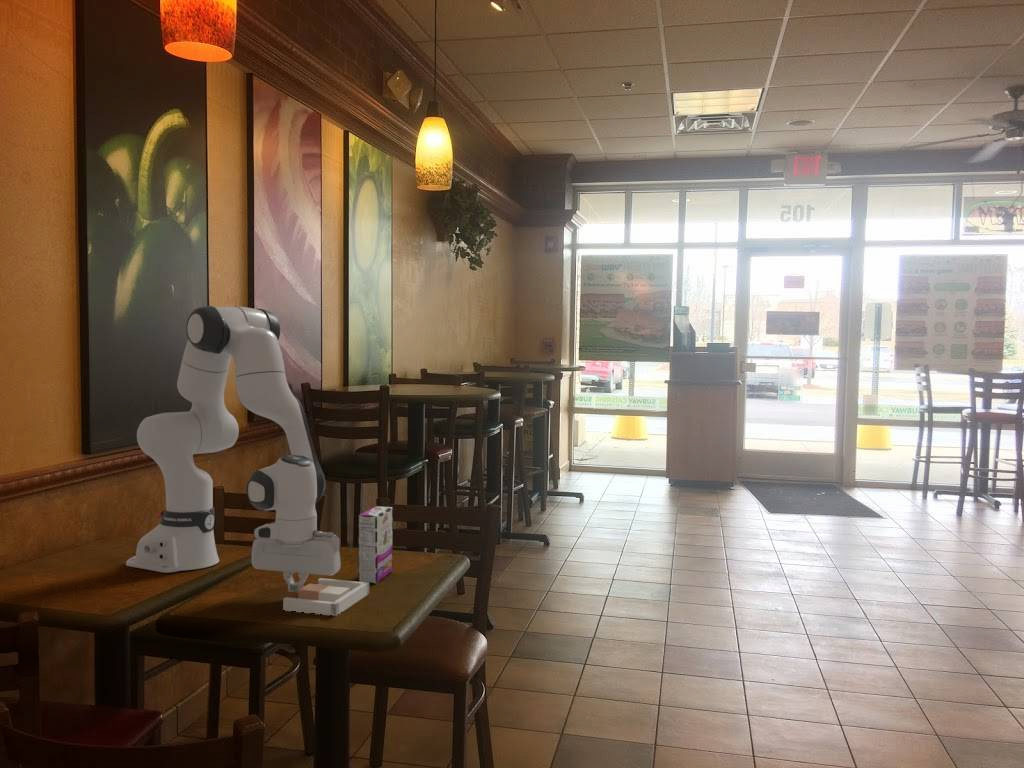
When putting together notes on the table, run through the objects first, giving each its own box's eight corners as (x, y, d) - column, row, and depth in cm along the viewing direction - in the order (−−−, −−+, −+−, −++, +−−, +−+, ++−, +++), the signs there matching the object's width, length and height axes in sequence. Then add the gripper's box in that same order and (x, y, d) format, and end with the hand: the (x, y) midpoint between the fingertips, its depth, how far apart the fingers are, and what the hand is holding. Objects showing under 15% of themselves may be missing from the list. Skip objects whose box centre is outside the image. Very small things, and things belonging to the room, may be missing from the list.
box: (283, 610, 168) (283, 598, 168) (320, 588, 184) (320, 578, 184) (336, 616, 165) (336, 604, 165) (369, 593, 181) (369, 582, 181)
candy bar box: (374, 570, 200) (375, 505, 200) (393, 571, 199) (393, 506, 199) (357, 582, 189) (357, 514, 189) (376, 584, 188) (377, 515, 188)
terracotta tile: (298, 603, 174) (298, 589, 174) (309, 596, 179) (309, 583, 178) (319, 605, 172) (319, 591, 172) (329, 598, 177) (330, 585, 177)
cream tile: (318, 606, 172) (318, 592, 172) (329, 599, 177) (329, 585, 177) (339, 608, 171) (339, 594, 171) (349, 601, 176) (349, 587, 176)
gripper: (345, 529, 176) (345, 591, 177) (263, 523, 181) (263, 583, 182) (332, 535, 170) (332, 599, 171) (247, 529, 175) (247, 591, 176)
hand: (295, 591), depth 176 cm, fingers closed
